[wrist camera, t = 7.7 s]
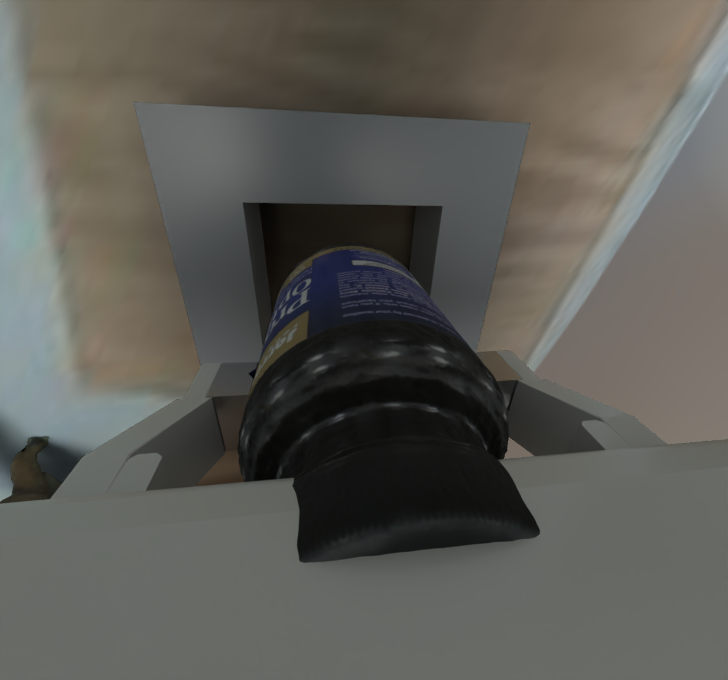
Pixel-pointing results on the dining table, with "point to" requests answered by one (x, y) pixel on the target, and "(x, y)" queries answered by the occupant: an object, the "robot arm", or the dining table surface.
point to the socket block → (324, 186)
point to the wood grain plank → (224, 471)
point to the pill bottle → (378, 415)
